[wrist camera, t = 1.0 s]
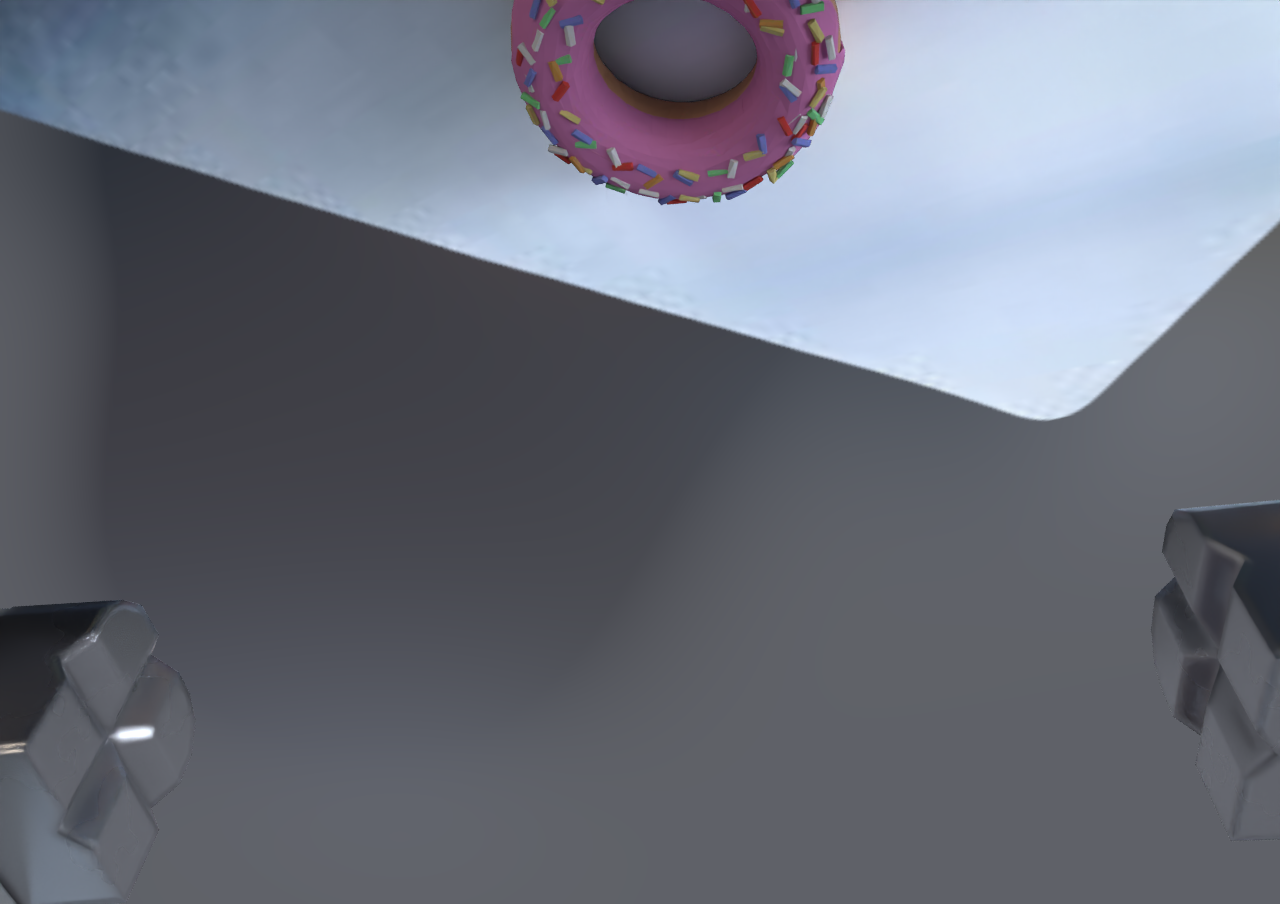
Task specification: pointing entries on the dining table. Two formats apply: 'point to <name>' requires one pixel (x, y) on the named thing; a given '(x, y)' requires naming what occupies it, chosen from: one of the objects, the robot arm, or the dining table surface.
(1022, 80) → the dining table surface
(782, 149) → the donut
